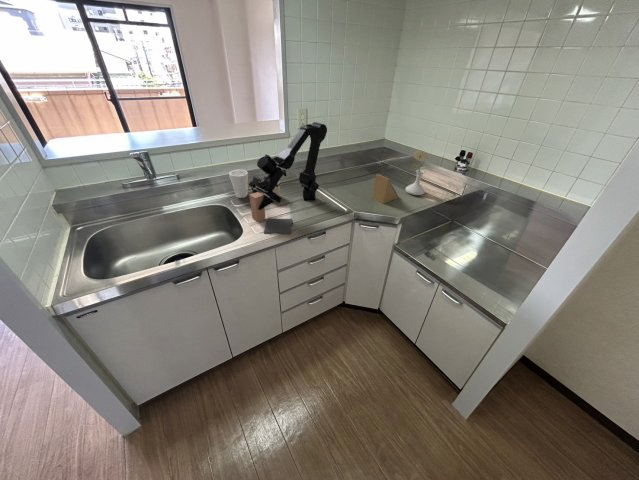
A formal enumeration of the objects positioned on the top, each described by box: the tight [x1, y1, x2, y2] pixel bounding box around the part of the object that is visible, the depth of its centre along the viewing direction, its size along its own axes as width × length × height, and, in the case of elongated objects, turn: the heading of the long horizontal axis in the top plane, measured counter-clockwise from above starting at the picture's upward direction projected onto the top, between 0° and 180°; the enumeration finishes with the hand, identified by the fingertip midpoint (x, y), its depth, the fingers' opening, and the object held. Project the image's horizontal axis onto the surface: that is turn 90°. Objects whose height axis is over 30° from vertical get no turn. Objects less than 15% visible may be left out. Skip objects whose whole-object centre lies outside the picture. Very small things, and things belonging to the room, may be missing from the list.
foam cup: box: [228, 169, 249, 199], centre depth 142 cm, size 10×9×13 cm
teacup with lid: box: [260, 180, 281, 197], centre depth 142 cm, size 12×9×12 cm
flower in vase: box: [405, 149, 429, 196], centre depth 153 cm, size 13×11×25 cm
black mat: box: [263, 218, 293, 235], centre depth 121 cm, size 12×12×1 cm
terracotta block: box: [249, 192, 266, 222], centre depth 123 cm, size 4×4×12 cm
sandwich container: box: [371, 173, 400, 204], centre depth 148 cm, size 9×15×15 cm, turn 129°
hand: (255, 207), depth 122 cm, fingers open, 6 cm apart
